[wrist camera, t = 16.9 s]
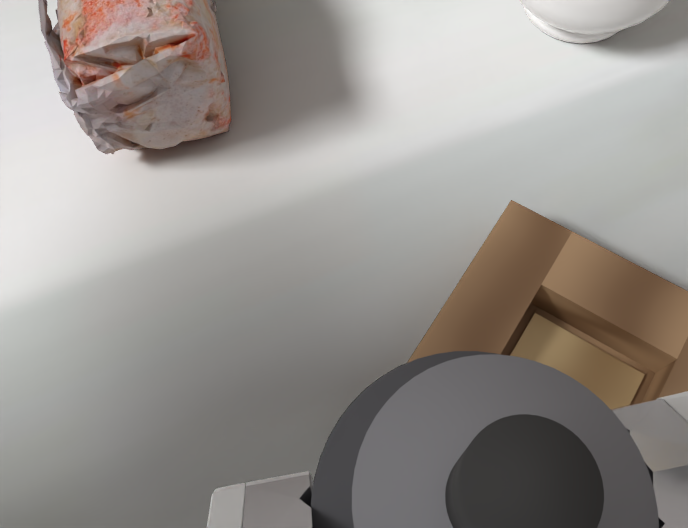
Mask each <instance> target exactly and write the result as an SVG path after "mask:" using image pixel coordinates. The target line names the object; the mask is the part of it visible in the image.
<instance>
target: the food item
mask: <svg viewBox="0 0 688 528" xmlns="http://www.w3.org/2000/svg"><path fill="white" fill-rule="evenodd" d="M38 1H39V14H40V22H41V31H42V33H43V36H44V38H45V40H46V41H45V45H46V47H47V49H48V51H49V54H50V58H51V63H52V68H53V73H54V78H55V81H56V83H57V85H58V87H59V89H60V91H61V92H59V93H60V96H61V98H62V101H63V102H64V103H65V105H66V106H67V107H68V108H70V109H72V110H73V111H74V115H75V117H76V119H77V121H78V123H79V124H80V126H81V128H82V129H83V130H84V132H85V133H86V134H87V135H88V136H90V138H91V139H92V141H93V142H94V144H95V146H96V148H97V149H98V150H99V151H101V152H103V153H105V154H108V153H112V154H114V152H115V151H117V150H120V149H129V150H134V149H141V148H154V149H164V148H168V147H173V146H176V145H177V144H179V143H180V142H182V141H191V140H197V139H202V138H206V137H210V136H213V135H217V134H220V133H223V132H227V131H229V124H230V122H231V108H230V90H229V80H228V73H227V66H226V61H225V56H224V52H223V47H222V43H221V38H220V33H219V29H218V25H217V20H216V16H215V12H216V11H217V9H216V5H215V2H214V3H213V4H212V0H57V1H58V2H57V10H56V14H57V18H58V23H57V24H56V26H55V27H54V29H53V30H52V25H51V20H50V18H49V16H48V15H47V1H46V0H38Z"/></svg>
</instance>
